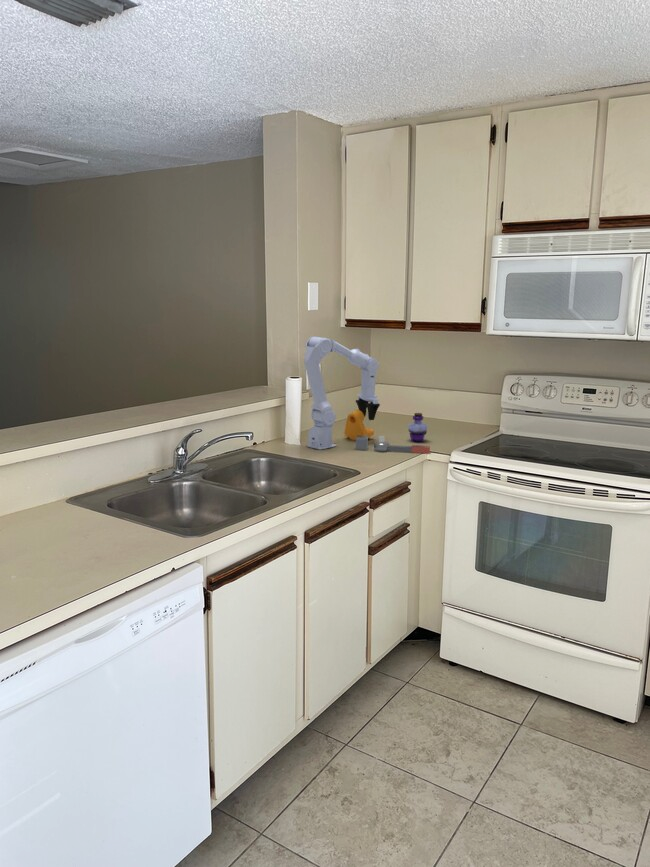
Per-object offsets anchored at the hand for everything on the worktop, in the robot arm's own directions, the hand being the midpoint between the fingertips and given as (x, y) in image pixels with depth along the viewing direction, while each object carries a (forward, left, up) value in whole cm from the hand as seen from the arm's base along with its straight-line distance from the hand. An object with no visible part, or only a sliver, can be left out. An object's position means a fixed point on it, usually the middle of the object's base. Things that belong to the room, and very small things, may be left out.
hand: (367, 418), depth 279 cm
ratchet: (-3, -22, -10) cm, 24 cm away
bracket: (+1, +5, -9) cm, 10 cm away
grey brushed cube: (-12, -8, -10) cm, 17 cm away
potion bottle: (+16, -14, -10) cm, 24 cm away
